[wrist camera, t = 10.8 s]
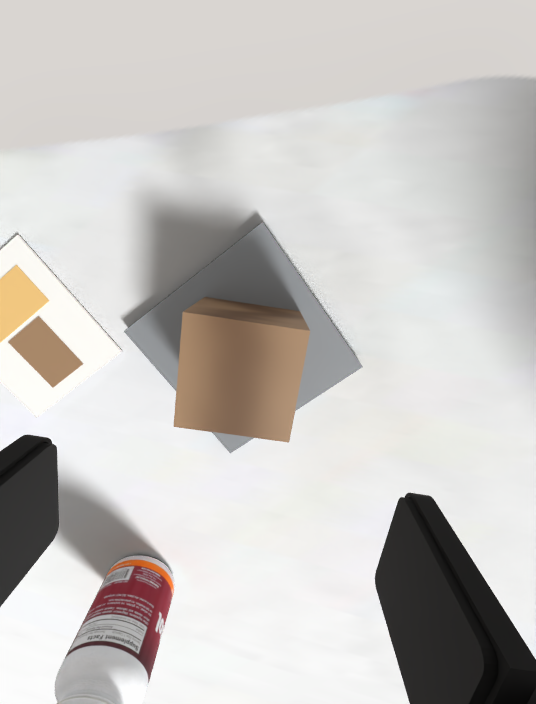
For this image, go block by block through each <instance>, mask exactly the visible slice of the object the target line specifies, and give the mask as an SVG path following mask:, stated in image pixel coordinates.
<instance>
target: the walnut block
mask: <svg viewBox="0 0 536 704" xmlns="http://www.w3.org/2000/svg"><path fill="white" fill-rule="evenodd" d="M309 335H310V329H309V327H308V326H307V324H306V322H305V320H304V318H303V316H302V314H301V312H300V311H295V310H289V309H282V308H275V307H269V306H262V305H256V304H249V303H242V302H236V301H229V300H223V299H216V298H209V297H204V298H203V299H201V300H200V301H198V302H197V303H195V304H194V305H192V306H191V307H189V308H188V309H186V310H185V311H183V315H182V328H181V340H180V353H179V366H178V378H177V391H176V404H175V416H174V427H180V428H187V429H195V430H202V431H209V432H217V433H224V434H231V435H239V436H246V437H253V438H261V439H268V440H275V441H283V442H289V440H290V434H291V429H292V424H293V419H294V414H295V408H296V403H297V398H298V393H299V387H300V382H301V377H302V372H303V366H304V361H305V356H306V351H307V346H308V340H309Z"/></svg>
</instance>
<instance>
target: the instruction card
mask: <svg viewBox="0 0 536 704" xmlns="http://www.w3.org/2000/svg"><path fill="white" fill-rule="evenodd" d="M121 352H123V351H122V350H121V349H120V348H119V347H118V345H117V344H116V343H115V342H114V341H113V340H112V339H111V338H110V336H109V335H108V334H107V333H106V332H105V331H104V330H103V329H102V327H101V326H100V325H99V324H98V323H97V322H96V321H95V320H94V318H93V317H92V316H91V315H90V314H89V313H88V312H87V311H86V309H85V308H84V307H83V306H82V305H81V304H80V303H79V302H78V300H77V299H76V298H75V297H74V296H73V295H72V294H71V293H70V291H69V290H68V289H67V288H66V287H65V286H64V285H63V284H62V283H61V281H60V280H59V279H58V278H57V277H56V276H55V275H54V274H53V272H52V271H51V270H50V269H49V268H48V267H47V266H46V265H45V263H44V262H43V261H42V260H41V259H40V258H39V257H38V256H37V254H36V253H35V252H34V251H33V250H32V249H31V248H30V247H29V245H28V244H27V243H26V242H25V241H24V240H23V239H22V238H21V236H20V235H16V236H15V237H14V238H13V239H12V240H11V241H10V242H9V243H8V244H7V245H5V246H4V247H3V248H2V249H1V250H0V382H1V383H2V384H3V385H4V386H5V387H6V388H7V389H8V390H9V391H10V392H11V393H12V394H13V395H14V396H15V397H16V398H17V399H18V400H19V401H20V402H21V403H22V404H23V405H24V406H25V407H26V408H27V409H28V410H29V411H30V412H31V413H32V414H33V415H34V416H35V417H36V418H37V417H39V416H40V415H41V414H42V413H44V412H45V411H46V410H48V409H49V408H50V407H51V406H53V405H54V404H55V403H57V402H58V401H59V400H61V399H62V398H63V397H64V396H66V395H67V394H68V393H70V392H71V391H72V390H73V389H75V388H76V387H77V386H79V385H80V384H81V383H83V382H84V381H85V380H86V379H88V378H89V377H90V376H92V375H93V374H94V373H95V372H97V371H98V370H99V369H101V368H102V367H103V366H104V365H106V364H107V363H108V362H110V361H111V360H112V359H114V358H115V357H116V356H117V355H119V354H120V353H121Z"/></svg>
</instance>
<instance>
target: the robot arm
mask: <svg viewBox="0 0 536 704" xmlns="http://www.w3.org/2000/svg"><path fill="white" fill-rule="evenodd" d="M58 527H59V511H58V472H57V447H56V446H55V445H54V444H52V441H51V440H50V439H49V438H46V437H39V436H33V435H24V436H22V437H20V438H19V439H17V440H16V441H14V442H13V443H12V444H10V445H9V446H7V447H6V448H4V449H3V450H2V451H0V607H1V605H2V604H3V603H4V601H5V600H6V599H7V598H8V596H9V595H10V594H11V593H12V591H13V590H14V589H15V588H16V586H17V585H18V584H19V583H20V581H21V580H22V579H23V578H24V576H25V575H26V574H27V573H28V571H29V570H30V569H31V567H32V566H33V565H34V564H35V562H36V561H37V560H38V559H39V557H40V556H41V555H42V554H43V552H44V551H45V550H46V549H47V547H48V546H49V545H50V544H51V542H52V541H53V539H54V538H55V536H56V534H57V531H58ZM375 584H376V590H377V593H378V596H379V600H380V603H381V607H382V610H383V613H384V617H385V620H386V624H387V627H388V630H389V634H390V637H391V641H392V644H393V648H394V651H395V654H396V658H397V661H398V665H399V668H400V671H401V675H402V678H403V682H404V685H405V688H406V692H407V695H408V699H409V702H410V704H536V659H535V658H534V656H533V655H532V653H531V651H530V650H529V648H528V647H527V645H526V644H525V642H524V640H523V639H522V637H521V636H520V634H519V633H518V631H517V629H516V628H515V626H514V625H513V623H512V622H511V620H510V618H509V617H508V615H507V614H506V612H505V611H504V609H503V607H502V606H501V604H500V603H499V601H498V600H497V598H496V596H495V595H494V593H493V592H492V590H491V589H490V587H489V585H488V584H487V582H486V581H485V579H484V578H483V576H482V574H481V573H480V571H479V570H478V568H477V567H476V565H475V563H474V562H473V560H472V559H471V557H470V556H469V554H468V553H467V551H466V549H465V548H464V546H463V545H462V543H461V542H460V540H459V538H458V537H457V535H456V534H455V532H454V531H453V529H452V527H451V526H450V524H449V523H448V521H447V520H446V518H445V516H444V515H443V513H442V512H441V510H440V509H439V507H438V505H437V504H436V502H435V501H434V499H433V498H432V497H431V496H427V495H421V494H414V493H407V494H406V496H405V498H403V497H401V498H400V499H399V501H398V503H397V506H396V510H395V513H394V516H393V519H392V522H391V526H390V529H389V532H388V535H387V538H386V541H385V545H384V548H383V551H382V554H381V557H380V561H379V564H378V567H377V570H376V574H375Z"/></svg>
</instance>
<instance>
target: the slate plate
mask: <svg viewBox="0 0 536 704" xmlns="http://www.w3.org/2000/svg"><path fill="white" fill-rule="evenodd" d="M204 297H209V298H216V299H223V300H229V301H236V302H242V303H249V304H256V305H262V306H269V307H275V308H282V309H289V310H295V311H300V312H301V314H302V316H303V318H304V320H305V322H306V324H307V326H308V327H309V329H310V335H309V340H308V346H307V351H306V356H305V361H304V366H303V372H302V377H301V382H300V387H299V393H298V398H297V403H296V408H295V411H296V410H297V409H299V408H300V407H302V406H303V405H305V404H307V403H308V402H310V401H311V400H313V399H314V398H316V397H317V396H319V395H320V394H322V393H323V392H325V391H326V390H328V389H330V388H331V387H333V386H334V385H336V384H337V383H339V382H340V381H342V380H343V379H345V378H346V377H348V376H349V375H351V374H353V373H354V372H356V371H357V370H359V369H360V368H362V367H363V366H362V365H361V364H360V362H359V361H358V359H357V358H356V356H355V355H354V353H353V352H352V351H351V349H350V348H349V346H348V345H347V343H346V342H345V340H344V339H343V337H342V336H341V335H340V333H339V332H338V330H337V329H336V327H335V326H334V324H333V323H332V322H331V320H330V319H329V317H328V316H327V314H326V313H325V311H324V310H323V308H322V307H321V306H320V304H319V303H318V301H317V300H316V298H315V297H314V295H313V294H312V293H311V291H310V290H309V288H308V287H307V285H306V284H305V282H304V281H303V280H302V278H301V277H300V275H299V274H298V272H297V271H296V269H295V268H294V266H293V265H292V264H291V262H290V261H289V259H288V258H287V256H286V255H285V253H284V252H283V251H282V249H281V248H280V246H279V245H278V243H277V242H276V240H275V239H274V238H273V236H272V235H271V233H270V232H269V230H268V229H267V227H266V226H265V224H264V223H263V222H262V223H261V224H259V225H258V226H257V227H256V228H254V229H253V230H252V231H250V232H249V233H248V234H247V235H245V236H244V237H243V238H242V239H240V240H239V241H238V242H237V243H235V244H234V245H233V246H231V247H230V248H229V249H228V250H226V251H225V252H224V253H223V254H221V255H220V256H219V257H217V258H216V259H215V260H214V261H212V262H211V263H210V264H209V265H207V266H206V267H205V268H203V269H202V270H201V271H200V272H198V273H197V274H196V275H195V276H193V277H192V278H191V279H190V280H188V281H187V282H186V283H184V284H183V285H182V286H181V287H179V288H178V289H177V290H176V291H174V292H173V293H172V294H170V295H169V296H168V297H167V298H165V299H164V300H163V301H162V302H160V303H159V304H158V305H156V306H155V307H154V308H153V309H151V310H150V311H149V312H148V313H146V314H145V315H144V316H143V317H141V318H140V319H139V320H137V321H136V322H135V323H134V324H132V325H131V326H130V327H129V328H127V329H126V330H125V331H124V332H125V333H126V334H127V335H128V337H129V338H130V339H131V340H132V341H133V342H134V343H135V345H136V346H137V347H138V348H139V349H140V350H141V351H142V353H143V354H144V355H145V356H146V357H147V358H148V359H149V361H150V362H151V363H152V364H153V365H154V366H155V367H156V369H157V370H158V371H159V372H160V373H161V374H162V376H163V377H164V378H165V379H166V380H167V381H168V382H169V384H170V385H171V386H172V387H173V388H174V389H175V390H176V391H177V378H178V366H179V353H180V340H181V328H182V315H183V311H185V310H186V309H188V308H189V307H191V306H192V305H194V304H195V303H197V302H198V301H200V300H201V299H203V298H204ZM212 433H213V434H214V435H215V436H216V437H217V438H218V440H219V441H220V442H221V443H222V444H223V445H224V446H225V448H226V449H227V450H228V451H229V452H230V453H231V452H233V451H235V450H236V449H238V448H239V447H241V446H242V445H244V444H245V443H247V442H248V441H250V440H251V439H253V437H246V436H239V435H231V434H224V433H217V432H212Z"/></svg>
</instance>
